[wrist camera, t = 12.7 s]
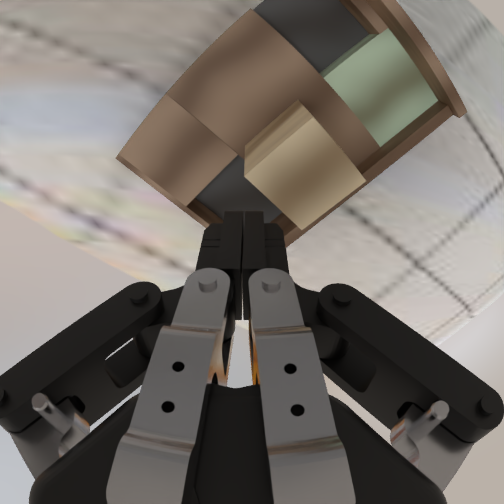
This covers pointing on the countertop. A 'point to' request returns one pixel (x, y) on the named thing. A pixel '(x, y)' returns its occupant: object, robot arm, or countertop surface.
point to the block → (300, 166)
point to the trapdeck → (292, 101)
